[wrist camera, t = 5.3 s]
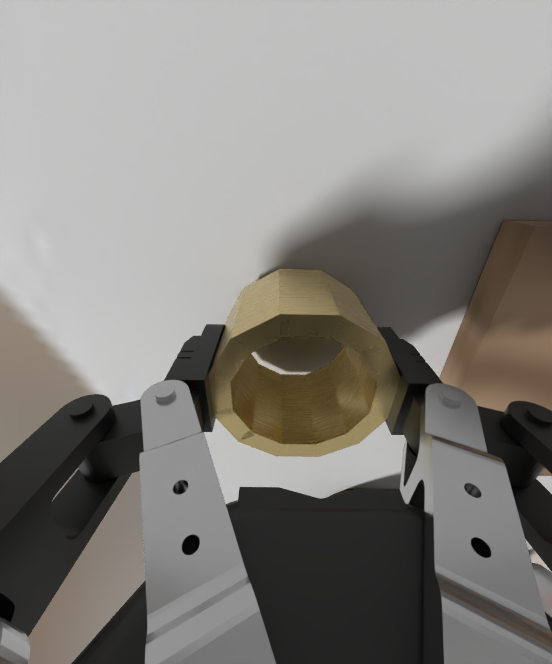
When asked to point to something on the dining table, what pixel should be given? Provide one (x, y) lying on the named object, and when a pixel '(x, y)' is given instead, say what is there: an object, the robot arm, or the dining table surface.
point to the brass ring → (301, 390)
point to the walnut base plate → (508, 323)
